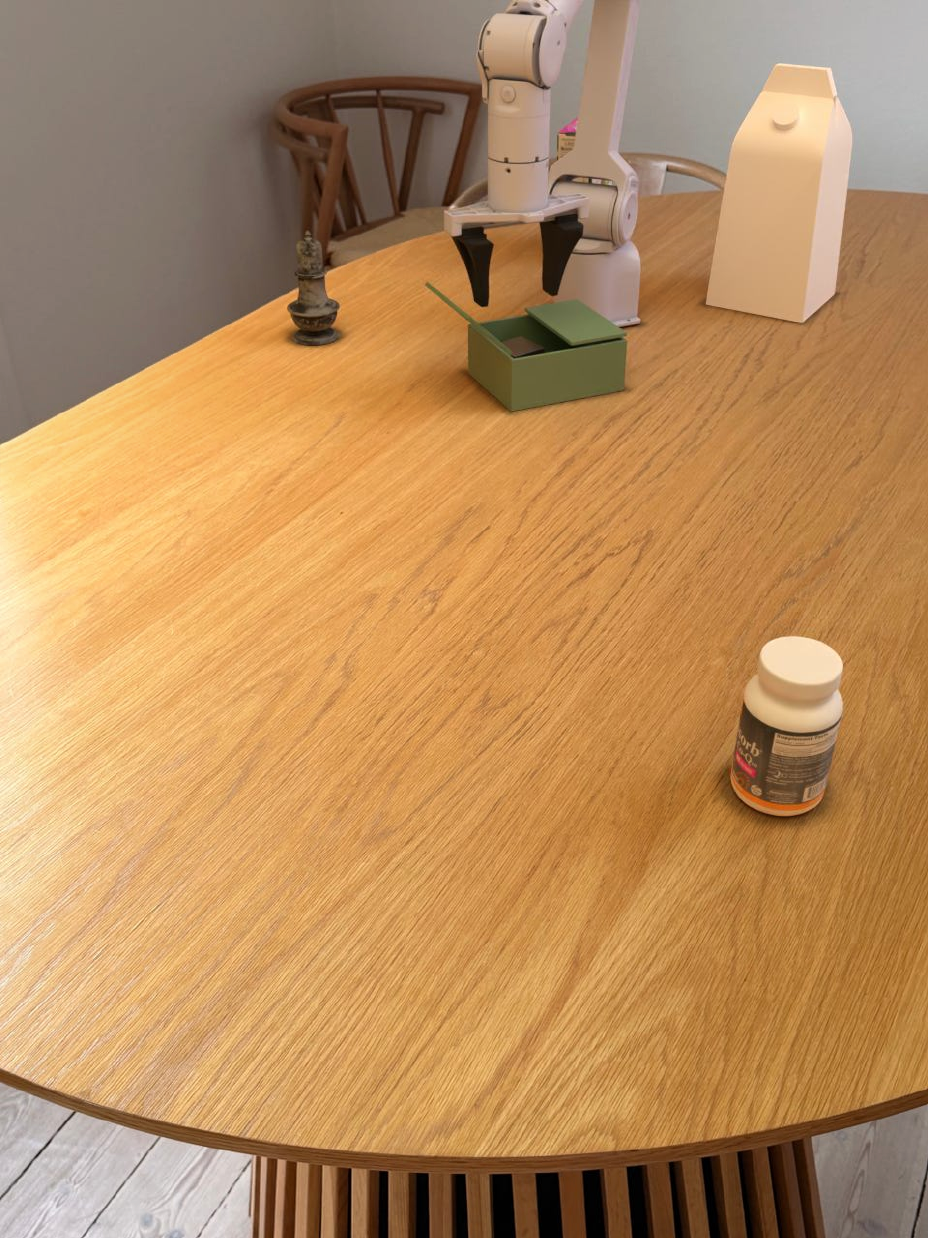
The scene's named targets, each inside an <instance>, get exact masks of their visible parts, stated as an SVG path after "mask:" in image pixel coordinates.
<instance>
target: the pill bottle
mask: <svg viewBox="0 0 928 1238" xmlns="http://www.w3.org/2000/svg"><path fill="white" fill-rule="evenodd" d="M843 670H844V663H843V660H842V658H841V656H840V655H839V653H837V651H836V650H835V649H834V648H832V647H831V646H829V645H827V644H825V643H824V642H822V641H819V640H817V639H813V638H809V637H805V636H798V635H797V636H795V635H793V636H792V635H790V636H789V635H788V636H781V637H777V638H774V639H771V640H769V641H768V642H766V643H765V644H764V645H763V646H762V647H761V650H760V651H759V655H758V660H757V666H756V674H755V675H753V677H752V678H750V679H749V681H748V682H747V684H746V685H745V687H744V691H743V697H742V702H741V707H740V713H739V721H738V726H737V727H738V728H737V732H736V739H735V745H734V751H733V757H732V762H731V767H730V784H731V786H732V788H733V791H734V792H735V794H736V795H737V797H738V798H739V799H740V800H741V801H742V802H743V803H745V804H746V805H747V806H749V807H750V808H752V809H754V810H756V811H757V812H761V813H763V814H767V815H771V816H776V817H792V816H798V815H802V814H805V813H807V812H809V811H812V809H814V808H815V807H816V806H817V805H819V803H820V802H821V801H822V799H823V797H824V794H825V791H826V787H827V783H828V778H829V775H830V770H831V765H832V761H833V757H834V752H835V748H836V743H837V739H838V734H839V730H840V725H841V721H842V718H843V717H842V716H843V712H844V702H843V696H842V694H841V692H840V690H839V688H840V686H841V681H842V675H843V672H844V671H843Z"/></svg>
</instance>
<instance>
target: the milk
mask: <svg viewBox="0 0 928 1238" xmlns="http://www.w3.org/2000/svg"><path fill="white" fill-rule="evenodd" d="M853 140H854V139H853V130H852V126H851V123H850V121H849V119H848V117H847V115H846V112H845V110H844V108H843V105H842V102H841V100H840V98H839V97H838V92H837V87H836V83H835V79H834V75H833V71H832V68H831V67H823V66H813V65H802V64H791V63H782V62H781V63H780V62H778V63H777V64H775V65H774V66H773V67H772V70H771V72H770V74H769V76H768V78H767V80H766V82H765V83H764V86H763V88H762V91H761V92H760V93H759V94H758V96H757V97H756V100H755V101H754V103H753V105H752V106H751V108H750V109H749V111H748V113H747V115H746V117H745V118H744V120H743V121H742V123H741V125H740V127H739V128H738V131H737V132H736V134H735V136H734V138H733V141H732V144H731V147H730V151H729V158H728V164H727V170H726V177H725V182H724V189H723V193H722V194H723V195H722V201H721V206H720V212H719V218H718V219H719V220H718V226H717V232H716V237H715V244H714V250H713V255H712V256H713V257H712V261H711V269H710V273H709V274H710V276H709V281H708V287H707V294H706V299H705V305H706V306H711V307H716V308H722V309H728V310H731V311H738V312H742V313H747V314H751V315H752V314H753V315H757V316H761V317H762V316H763V317H768V318H774V319H779V320H782V321H783V320H784V321H789V322H794V323H800V324H804V323H805V322H806V321H807V320H808V319H809V318H810V317H811V316H812V315H813V314H815V313H816V312H817V311H818V310H819V309H820V308H821V307H823V306H824V304H826V303H827V302H828V301H829V300H830V299H831V298H833V297H834V296H835V294H836V288H837V278H838V269H839V261H840V253H841V244H842V235H843V229H844V228H843V227H844V220H845V219H844V218H845V210H846V203H847V195H848V194H847V193H848V184H849V176H850V167H851V159H852V150H853Z"/></svg>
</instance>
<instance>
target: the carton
mask: <svg viewBox="0 0 928 1238" xmlns="http://www.w3.org/2000/svg"><path fill="white" fill-rule="evenodd" d="M524 312H525V313H526V314H520V315H515V316H514V315H513V316H510V317H509V316H508V317H503V318H497V319H490V320H485V321H477V323H479V324H480V325H481V326H482V327H483V328H484V329H486V330H487V331H488V332H489V333H490V334H492V335H493V336H494V337H495V338H496V339H497V340H499V341H500V342H502V341H506V340H509V339H513V338H516V337H520V336H521V337H524V338H526V339H528V340H530V341H532V342H534V343H536V344H538V345H540V346H543V347H545V353H543V354H538V355H532V356H526V357H521V358H515V359H514V358H513V357H511V356H510V355H509V354H507V353H506V352H505V351H504V350H503V349H501V348H500V347H499V346H498V345H496V344H495V343H494V342H493V341H492V340H490V339H489V338H488V337H487V336H485V335H484V334H483V333H482V332H481V331H479V330H478V329H477V328H476V327H474V326H473V325H472V324H471V323H468V324H467V373H468V374H469V376H471V377H472V378H473V379H474V380H475V381H476V382H478V384H480V385H481V386H482V387H483V388H484V389H485V390H486V391H487V392H489V393H490V394H491V395H492V396H493V397H494V398H495V399H496V400H498V401H499V402H500V403H501V404H502V405H503V406H504V407H505V408H507V409H508V410H509V411H510V412H518V411H522V410H523V411H524V410H528V409H533V408H539V407H545V406H550V405H554V404H559V403H565V402H569V401H570V402H571V401H573V400H574V401H575V400H576V401H577V400H580V399H586V398H592V397H596V396H602V395H606V394H612V393H617V392H622V391H624V390H625V379H626V367H627V365H626V364H627V351H628V339H626V338H625V337H627V336H628V332H627V331H626V330H624V329H622V327H618V326H616V325H615V324H613V323H612V322H610V321H609V320H607V319H606V318H604V317H603V316H601V315H600V314H598V313H597V312H595V311H594V310H592V309H591V308H589V307H588V306H586V305H585V304H583V303H582V302H580V301H579V300H578V299H575V300H569V301H563V302H557V303H553V302H551V303H545V304H544V303H543V304H539V305H533V306H526V307H524Z"/></svg>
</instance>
